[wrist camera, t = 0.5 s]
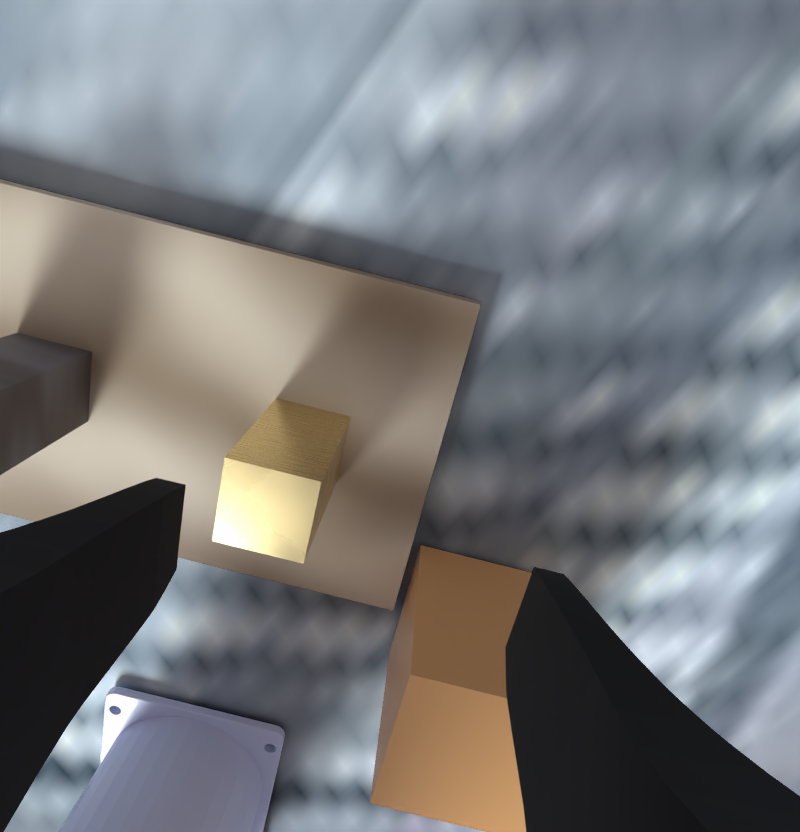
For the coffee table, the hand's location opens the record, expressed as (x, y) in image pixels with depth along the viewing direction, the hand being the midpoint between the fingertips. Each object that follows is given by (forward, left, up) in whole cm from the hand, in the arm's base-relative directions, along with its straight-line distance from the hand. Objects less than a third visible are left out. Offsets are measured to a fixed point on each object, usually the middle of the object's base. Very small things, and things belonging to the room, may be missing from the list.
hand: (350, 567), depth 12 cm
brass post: (-2, +3, -10) cm, 10 cm away
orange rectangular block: (-8, -5, -10) cm, 13 cm away
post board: (-2, +7, -10) cm, 12 cm away
